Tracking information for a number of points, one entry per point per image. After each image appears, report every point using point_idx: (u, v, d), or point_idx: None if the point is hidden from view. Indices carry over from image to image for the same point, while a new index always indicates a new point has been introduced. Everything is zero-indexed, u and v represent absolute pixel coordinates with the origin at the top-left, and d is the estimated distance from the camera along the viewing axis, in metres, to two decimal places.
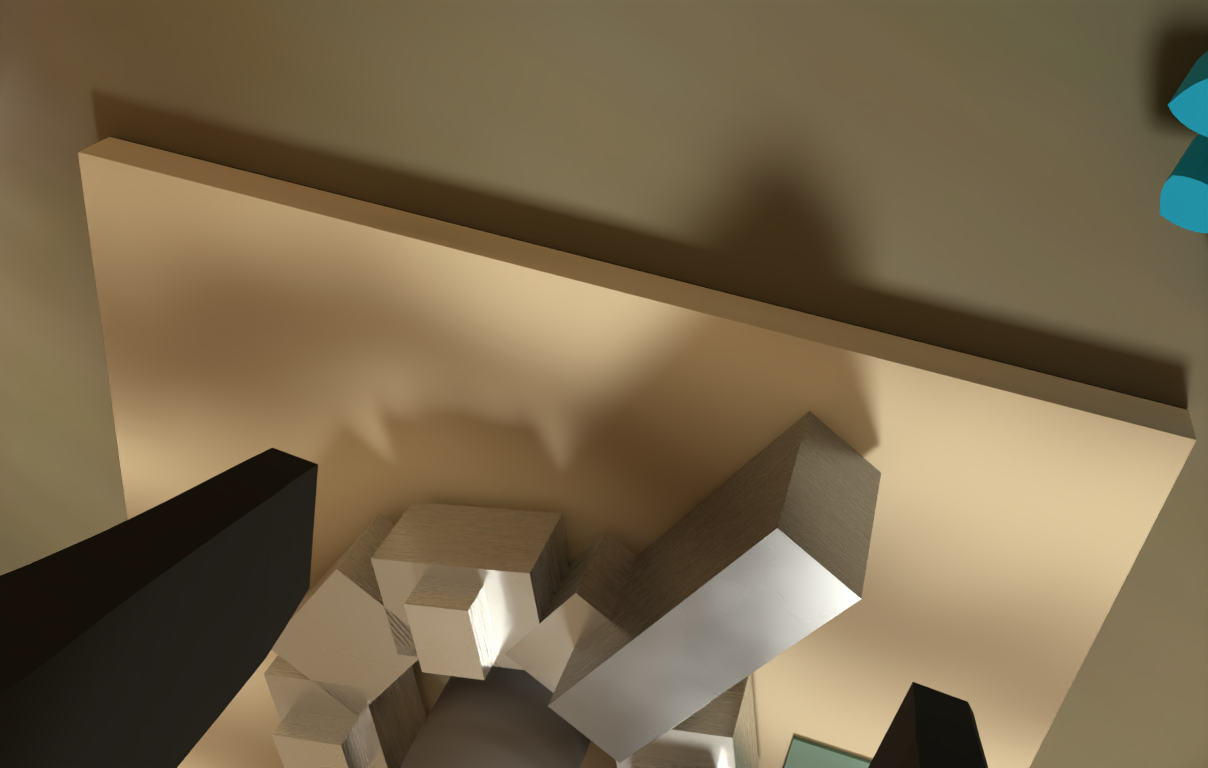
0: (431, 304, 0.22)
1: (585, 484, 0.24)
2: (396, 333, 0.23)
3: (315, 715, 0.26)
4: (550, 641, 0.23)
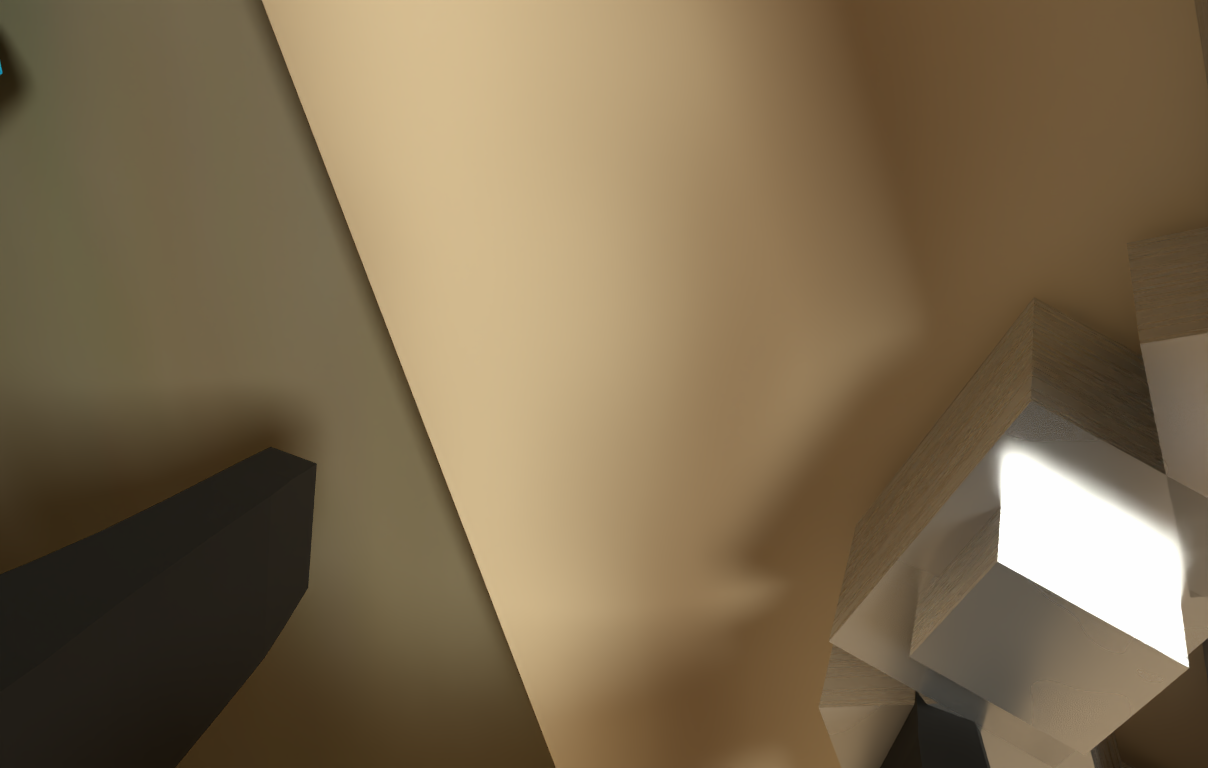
0: None
1: (803, 599, 0.15)
2: None
3: None
4: None
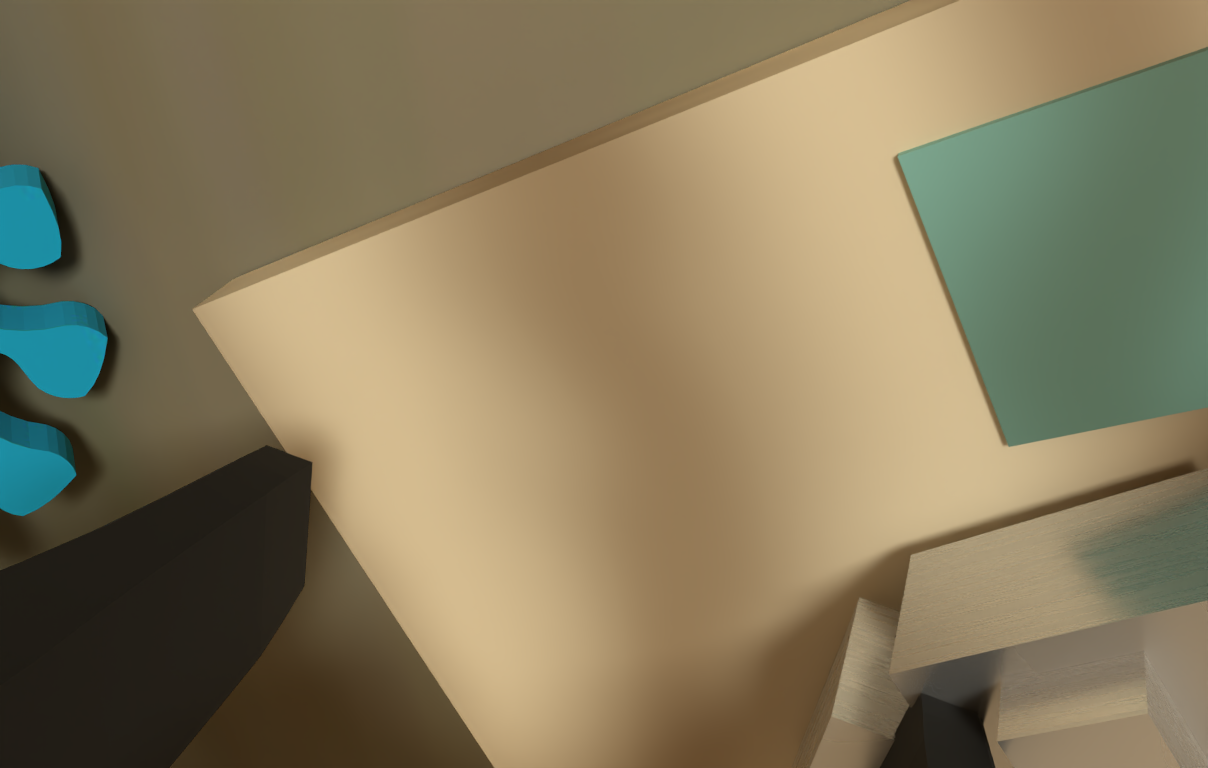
0: None
1: None
2: None
3: None
4: None
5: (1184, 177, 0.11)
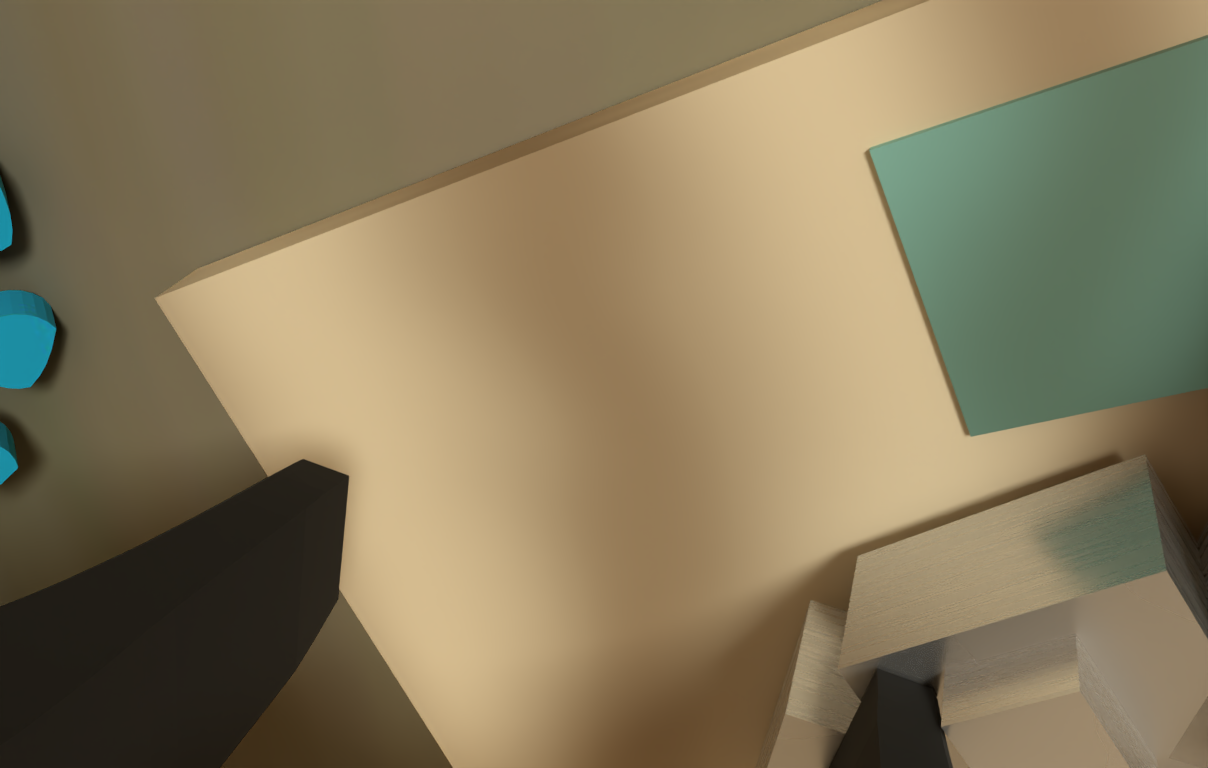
0: None
1: None
2: None
3: None
4: None
5: (1142, 173, 0.11)
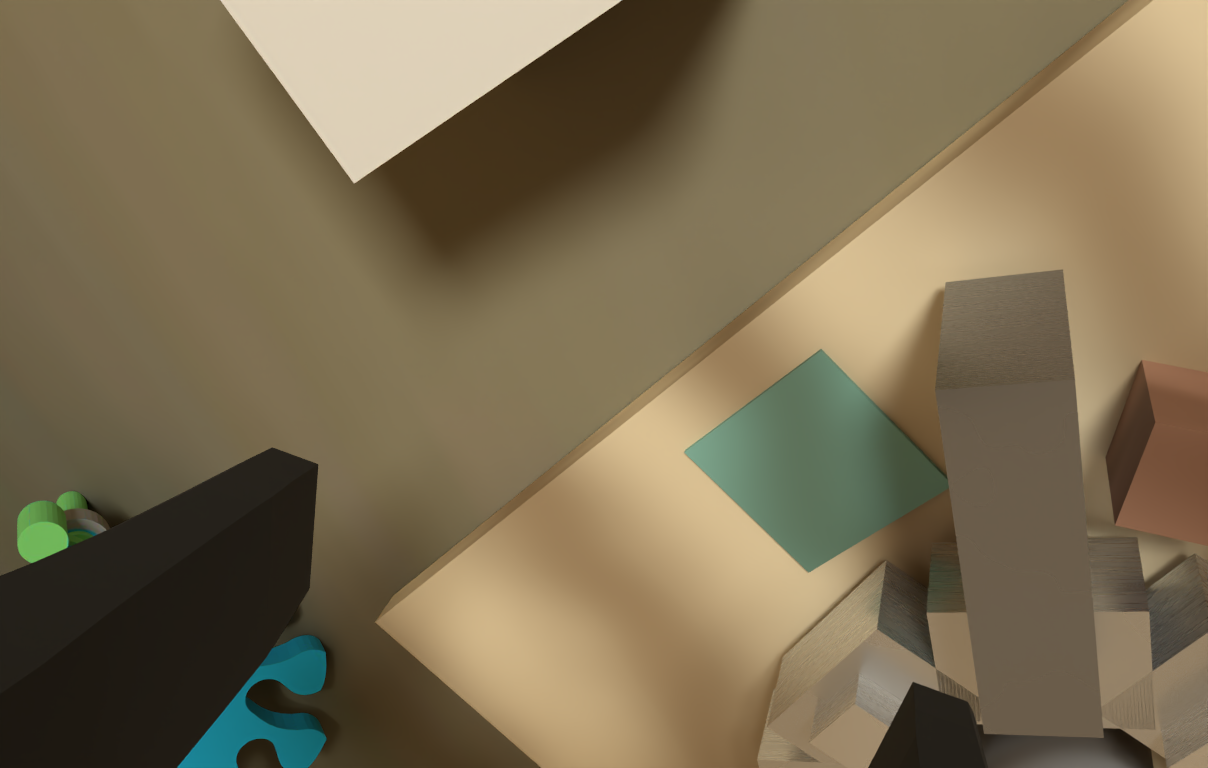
0: None
1: None
2: None
3: None
4: (961, 677, 0.20)
5: (811, 427, 0.21)
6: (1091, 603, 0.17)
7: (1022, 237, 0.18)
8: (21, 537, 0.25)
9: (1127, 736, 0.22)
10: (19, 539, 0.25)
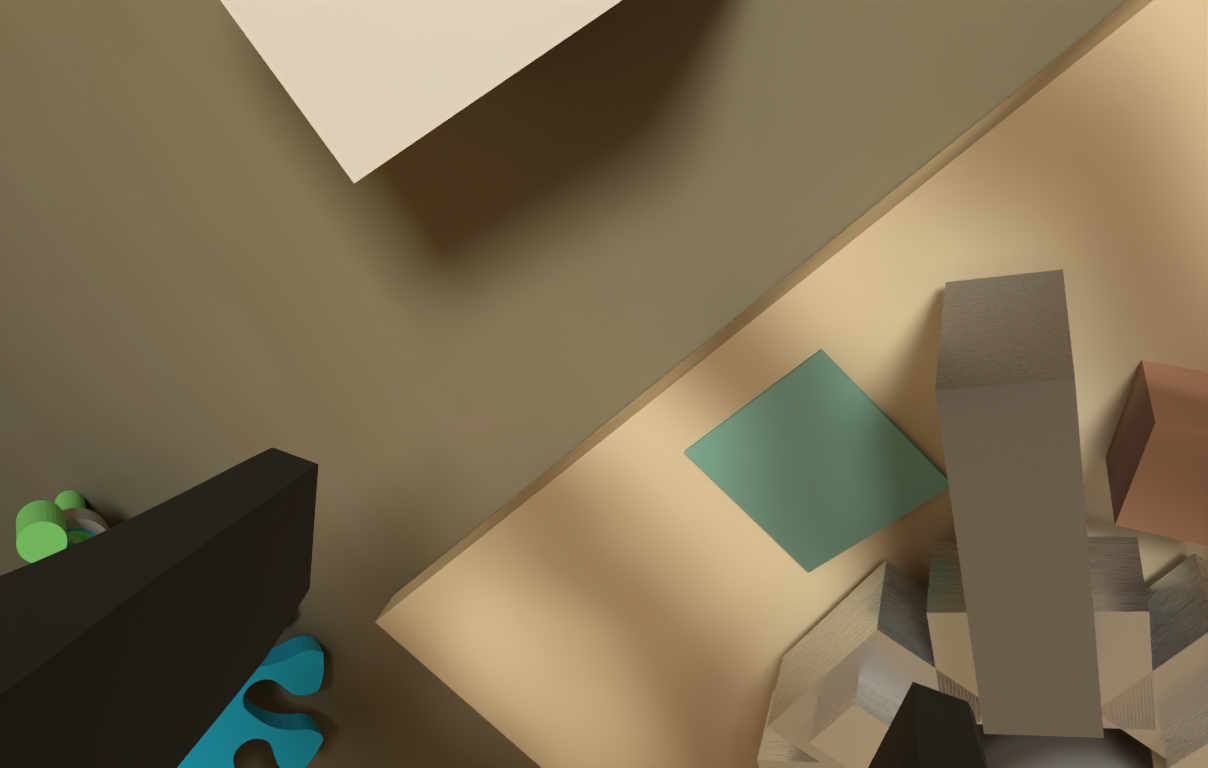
0: None
1: None
2: None
3: None
4: (961, 677, 0.20)
5: (811, 427, 0.21)
6: (1091, 603, 0.17)
7: (1022, 237, 0.18)
8: (20, 537, 0.25)
9: (1127, 736, 0.22)
10: (18, 539, 0.25)
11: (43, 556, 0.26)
